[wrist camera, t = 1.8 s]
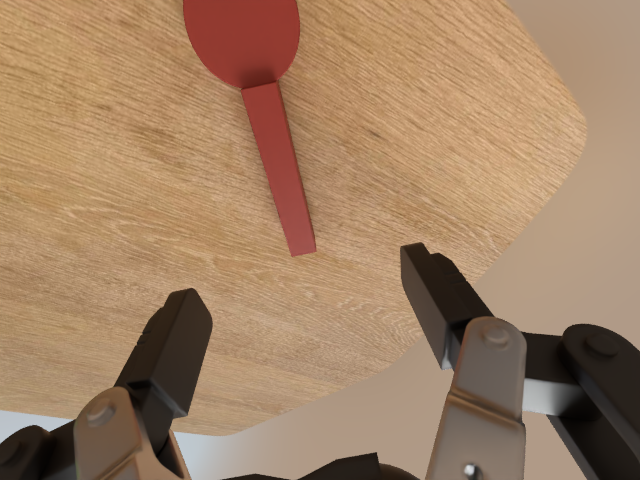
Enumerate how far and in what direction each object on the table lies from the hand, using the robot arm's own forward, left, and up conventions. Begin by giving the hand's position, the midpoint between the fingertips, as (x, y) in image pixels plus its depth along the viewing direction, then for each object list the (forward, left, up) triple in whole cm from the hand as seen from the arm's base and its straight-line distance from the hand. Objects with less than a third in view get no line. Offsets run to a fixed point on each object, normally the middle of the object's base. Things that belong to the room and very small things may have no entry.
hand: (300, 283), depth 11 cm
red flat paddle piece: (+1, -3, -14) cm, 14 cm away
